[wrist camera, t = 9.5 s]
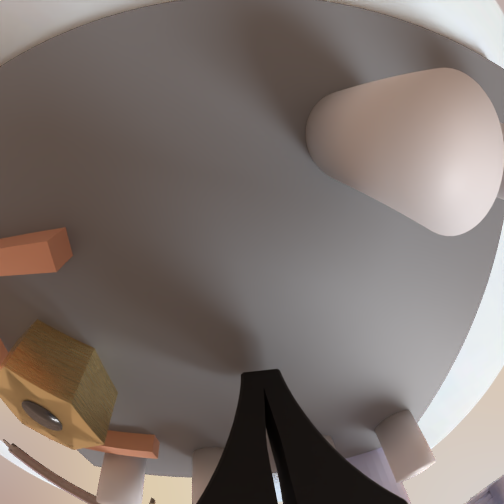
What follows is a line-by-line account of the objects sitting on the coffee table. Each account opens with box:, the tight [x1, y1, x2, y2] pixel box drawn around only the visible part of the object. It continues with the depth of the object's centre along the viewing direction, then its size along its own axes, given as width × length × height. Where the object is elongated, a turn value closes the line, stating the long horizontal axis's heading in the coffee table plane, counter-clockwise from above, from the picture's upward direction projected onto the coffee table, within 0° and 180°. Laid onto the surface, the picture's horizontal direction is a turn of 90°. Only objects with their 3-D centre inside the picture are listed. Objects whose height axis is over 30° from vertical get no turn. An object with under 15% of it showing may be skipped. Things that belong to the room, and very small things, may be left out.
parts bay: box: [0, 227, 160, 459], centre depth 9 cm, size 13×8×1 cm, turn 3°
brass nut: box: [0, 319, 118, 450], centre depth 9 cm, size 6×5×3 cm
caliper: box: [3, 439, 155, 504], centre depth 16 cm, size 20×1×6 cm, turn 69°
